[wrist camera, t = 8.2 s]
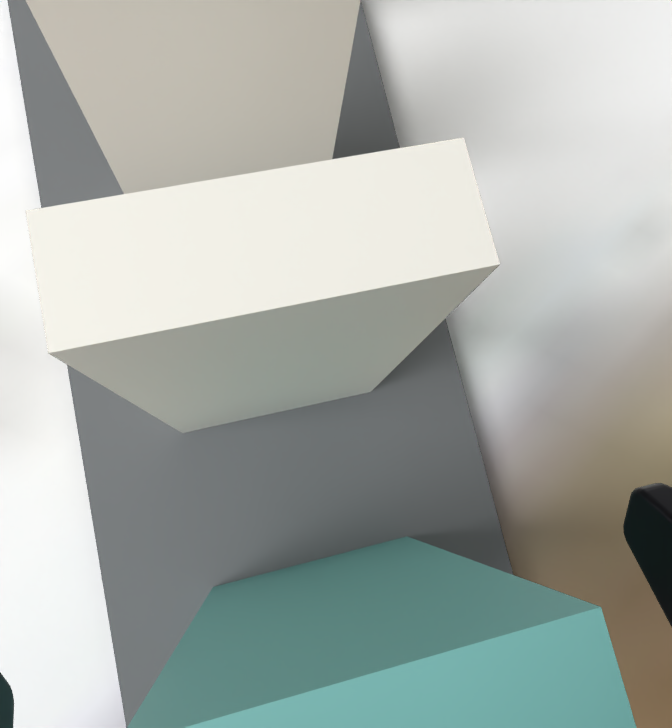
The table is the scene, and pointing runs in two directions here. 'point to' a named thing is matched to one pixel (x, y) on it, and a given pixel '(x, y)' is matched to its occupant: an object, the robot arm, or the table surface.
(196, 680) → the teal domino
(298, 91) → the domino
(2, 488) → the table surface
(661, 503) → the robot arm
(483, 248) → the domino
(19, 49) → the mat
